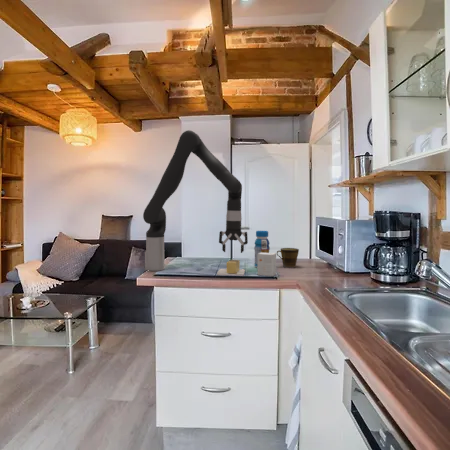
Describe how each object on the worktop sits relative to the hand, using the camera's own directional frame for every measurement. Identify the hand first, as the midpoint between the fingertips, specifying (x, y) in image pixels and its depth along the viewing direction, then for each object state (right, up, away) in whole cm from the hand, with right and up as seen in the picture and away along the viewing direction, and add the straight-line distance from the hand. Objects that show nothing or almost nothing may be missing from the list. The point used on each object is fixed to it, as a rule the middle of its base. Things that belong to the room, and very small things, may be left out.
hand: (233, 252), depth 150 cm
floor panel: (-1, -10, 0) cm, 10 cm away
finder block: (0, -10, 0) cm, 10 cm away
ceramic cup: (+31, -10, +17) cm, 36 cm away
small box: (+16, -11, -3) cm, 20 cm away
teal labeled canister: (+16, -10, +17) cm, 25 cm away
